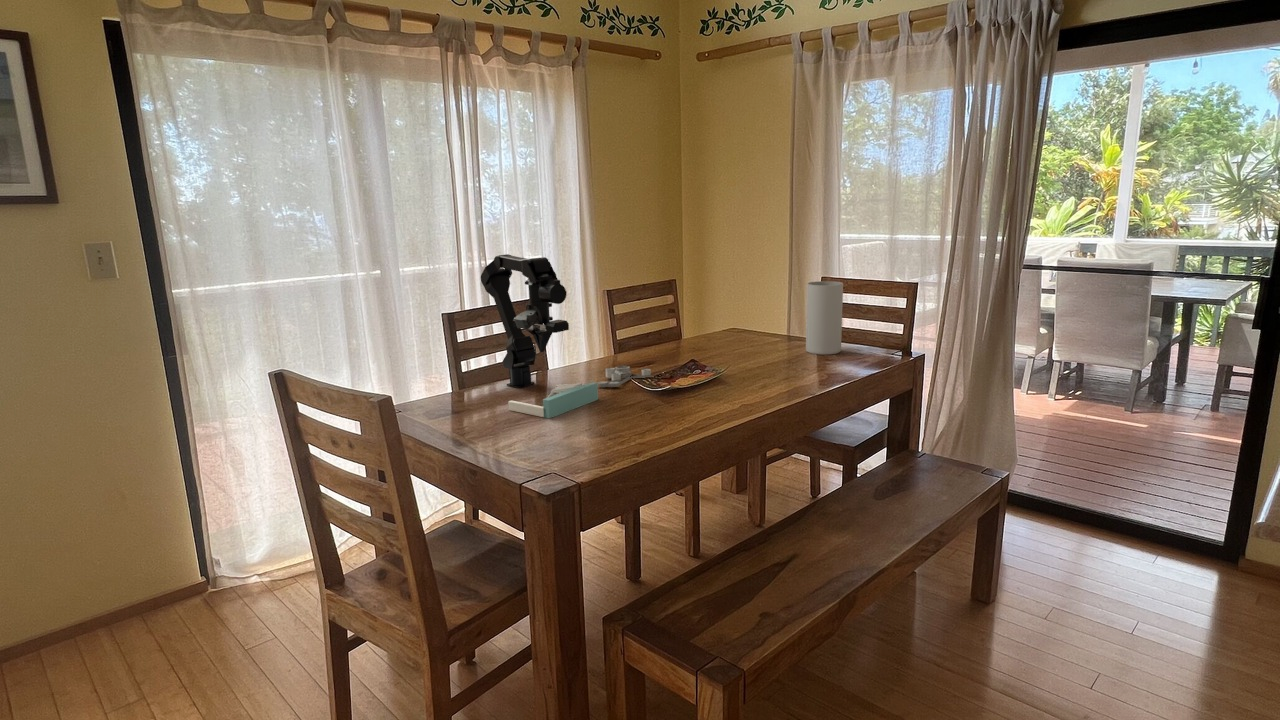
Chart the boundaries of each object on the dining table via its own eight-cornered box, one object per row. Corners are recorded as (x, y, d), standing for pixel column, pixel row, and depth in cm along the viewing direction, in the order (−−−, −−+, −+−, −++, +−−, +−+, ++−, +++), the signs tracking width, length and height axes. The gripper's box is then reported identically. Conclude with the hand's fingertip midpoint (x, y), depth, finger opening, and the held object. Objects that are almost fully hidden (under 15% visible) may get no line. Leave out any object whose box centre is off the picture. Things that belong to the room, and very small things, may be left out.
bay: (508, 409, 200) (507, 392, 199) (558, 392, 216) (557, 376, 215) (549, 418, 191) (548, 400, 190) (598, 399, 207) (597, 383, 206)
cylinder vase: (806, 355, 254) (808, 285, 249) (804, 347, 266) (806, 281, 261) (842, 355, 252) (845, 285, 247) (839, 347, 264) (841, 281, 259)
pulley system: (582, 384, 228) (605, 391, 216) (581, 370, 227) (605, 376, 215) (652, 374, 243) (678, 380, 230) (652, 360, 242) (678, 365, 230)
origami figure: (567, 396, 212) (566, 380, 211) (588, 399, 208) (587, 383, 207) (539, 406, 203) (538, 389, 202) (561, 410, 198) (560, 393, 197)
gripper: (497, 301, 209) (500, 353, 213) (540, 307, 198) (543, 361, 202) (525, 296, 218) (528, 346, 221) (568, 301, 206) (571, 353, 210)
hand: (542, 351), depth 213 cm, fingers closed
